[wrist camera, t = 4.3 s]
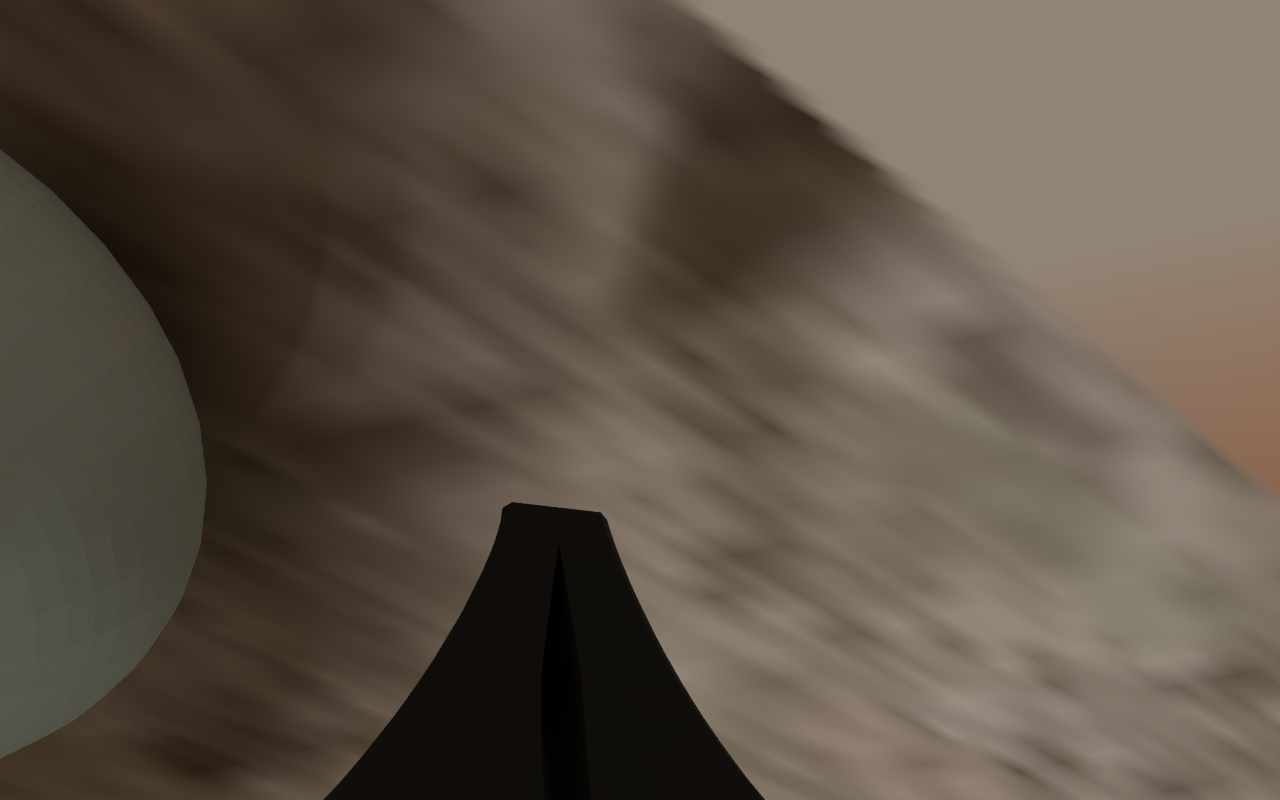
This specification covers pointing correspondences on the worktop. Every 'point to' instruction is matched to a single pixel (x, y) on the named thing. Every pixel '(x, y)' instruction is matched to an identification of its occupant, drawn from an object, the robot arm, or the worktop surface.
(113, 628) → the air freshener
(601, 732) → the robot arm
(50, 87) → the worktop surface
